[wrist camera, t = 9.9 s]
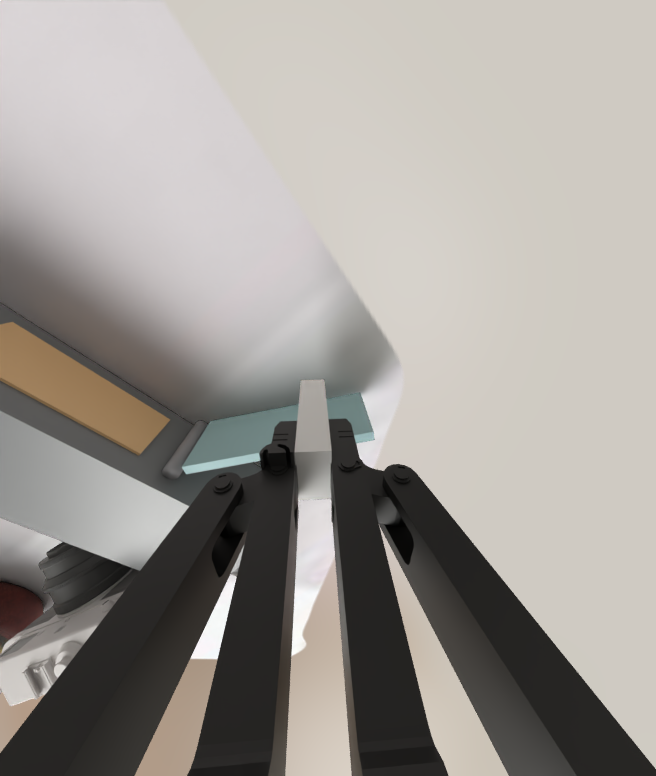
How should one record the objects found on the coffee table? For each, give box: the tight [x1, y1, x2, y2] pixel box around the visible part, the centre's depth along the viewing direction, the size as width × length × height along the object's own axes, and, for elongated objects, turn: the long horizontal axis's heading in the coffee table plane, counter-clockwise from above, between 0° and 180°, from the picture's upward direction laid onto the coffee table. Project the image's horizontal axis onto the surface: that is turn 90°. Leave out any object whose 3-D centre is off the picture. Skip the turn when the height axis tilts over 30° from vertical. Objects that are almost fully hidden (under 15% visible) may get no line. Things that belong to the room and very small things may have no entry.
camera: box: [0, 542, 139, 706], centre depth 22 cm, size 9×16×10 cm, turn 116°
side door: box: [162, 393, 375, 479], centre depth 17 cm, size 13×1×5 cm, turn 101°
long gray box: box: [0, 303, 262, 576], centre depth 17 cm, size 26×8×7 cm, turn 45°
